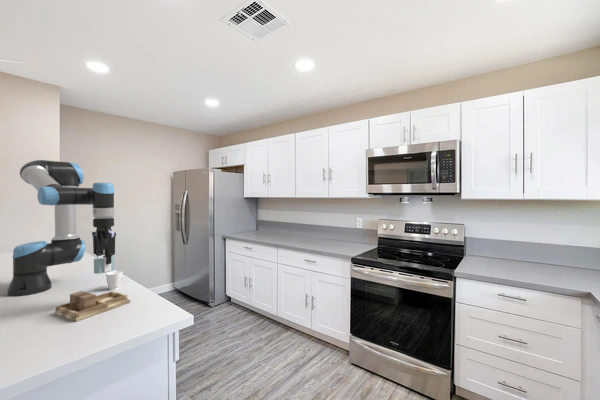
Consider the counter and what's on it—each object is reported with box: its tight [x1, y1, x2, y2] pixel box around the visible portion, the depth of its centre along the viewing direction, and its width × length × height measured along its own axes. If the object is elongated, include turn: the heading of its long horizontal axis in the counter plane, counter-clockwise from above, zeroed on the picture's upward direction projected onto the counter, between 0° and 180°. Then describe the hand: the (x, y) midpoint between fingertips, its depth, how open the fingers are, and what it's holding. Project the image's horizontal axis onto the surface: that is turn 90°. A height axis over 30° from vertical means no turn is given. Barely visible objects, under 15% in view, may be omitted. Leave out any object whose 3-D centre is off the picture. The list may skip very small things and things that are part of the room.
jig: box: [54, 290, 131, 323], centre depth 111 cm, size 15×20×3 cm
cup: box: [105, 270, 123, 291], centre depth 136 cm, size 7×10×8 cm
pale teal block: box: [93, 256, 115, 275], centre depth 117 cm, size 4×6×6 cm, turn 155°
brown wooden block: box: [69, 290, 97, 312], centre depth 107 cm, size 10×4×6 cm, turn 66°
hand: (104, 270), depth 117 cm, fingers closed on pale teal block, 4 cm apart
